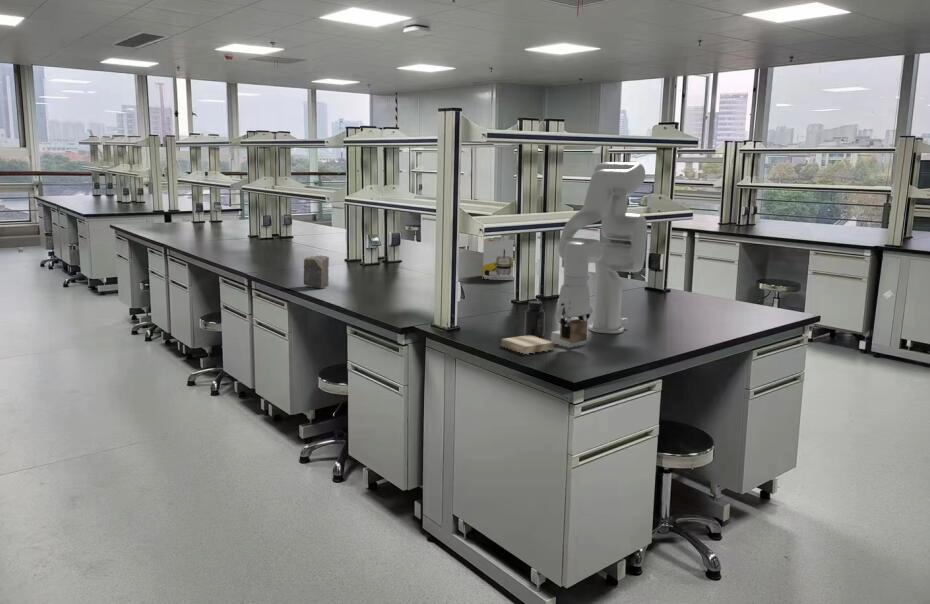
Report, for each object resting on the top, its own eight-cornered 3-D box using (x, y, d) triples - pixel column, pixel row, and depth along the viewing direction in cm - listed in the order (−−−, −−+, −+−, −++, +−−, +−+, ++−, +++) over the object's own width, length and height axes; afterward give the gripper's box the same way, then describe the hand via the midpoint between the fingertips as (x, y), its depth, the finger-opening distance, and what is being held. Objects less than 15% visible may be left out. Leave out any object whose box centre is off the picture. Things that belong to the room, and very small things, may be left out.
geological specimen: (303, 287, 331) (302, 255, 328) (312, 285, 336) (311, 254, 333) (321, 289, 326) (320, 257, 323) (329, 287, 331) (329, 256, 328)
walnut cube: (573, 336, 230) (574, 318, 228) (586, 340, 225) (587, 321, 223) (559, 338, 226) (560, 320, 225) (572, 343, 221) (573, 324, 220)
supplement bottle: (542, 333, 248) (544, 300, 246) (545, 338, 241) (546, 304, 239) (523, 333, 248) (524, 300, 246) (525, 338, 241) (526, 303, 239)
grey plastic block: (565, 340, 241) (566, 328, 240) (584, 344, 235) (585, 332, 234) (551, 343, 235) (551, 332, 234) (570, 348, 230) (570, 336, 229)
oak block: (529, 343, 236) (530, 334, 235) (553, 351, 226) (554, 342, 226) (501, 347, 229) (501, 338, 229) (524, 356, 220) (525, 346, 219)
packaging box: (482, 280, 365) (483, 231, 361) (482, 275, 381) (484, 229, 377) (513, 280, 365) (515, 232, 360) (513, 276, 381) (514, 230, 376)
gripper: (587, 276, 229) (584, 330, 233) (546, 281, 220) (545, 337, 223) (603, 280, 223) (601, 335, 227) (563, 285, 214) (561, 343, 217)
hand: (573, 335), depth 225 cm, fingers closed on walnut cube, 6 cm apart
